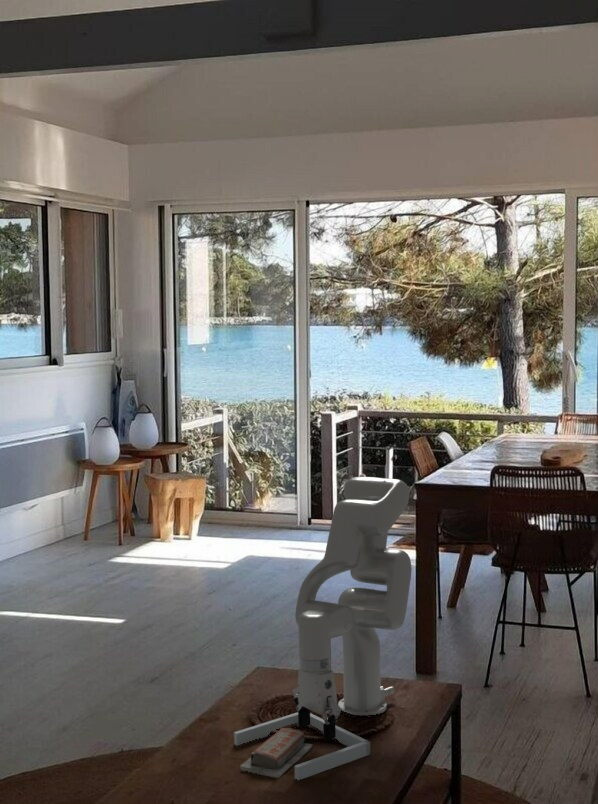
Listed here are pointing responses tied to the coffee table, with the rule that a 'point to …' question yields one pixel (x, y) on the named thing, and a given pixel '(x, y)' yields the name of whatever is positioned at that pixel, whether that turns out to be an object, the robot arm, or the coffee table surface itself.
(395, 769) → the coffee table surface
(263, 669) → the coffee table surface
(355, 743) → the open frame
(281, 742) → the packaged product
